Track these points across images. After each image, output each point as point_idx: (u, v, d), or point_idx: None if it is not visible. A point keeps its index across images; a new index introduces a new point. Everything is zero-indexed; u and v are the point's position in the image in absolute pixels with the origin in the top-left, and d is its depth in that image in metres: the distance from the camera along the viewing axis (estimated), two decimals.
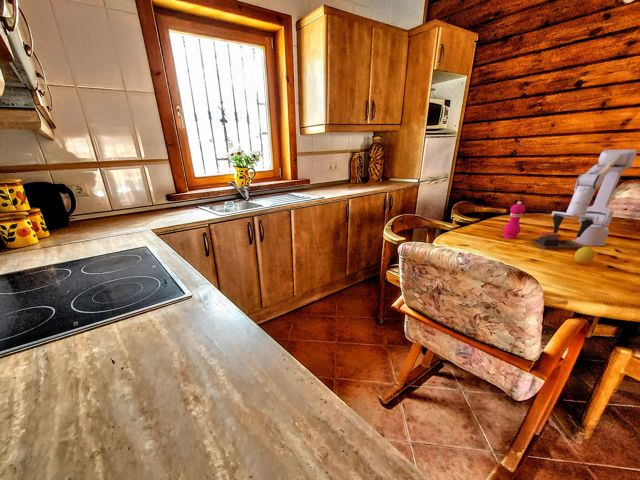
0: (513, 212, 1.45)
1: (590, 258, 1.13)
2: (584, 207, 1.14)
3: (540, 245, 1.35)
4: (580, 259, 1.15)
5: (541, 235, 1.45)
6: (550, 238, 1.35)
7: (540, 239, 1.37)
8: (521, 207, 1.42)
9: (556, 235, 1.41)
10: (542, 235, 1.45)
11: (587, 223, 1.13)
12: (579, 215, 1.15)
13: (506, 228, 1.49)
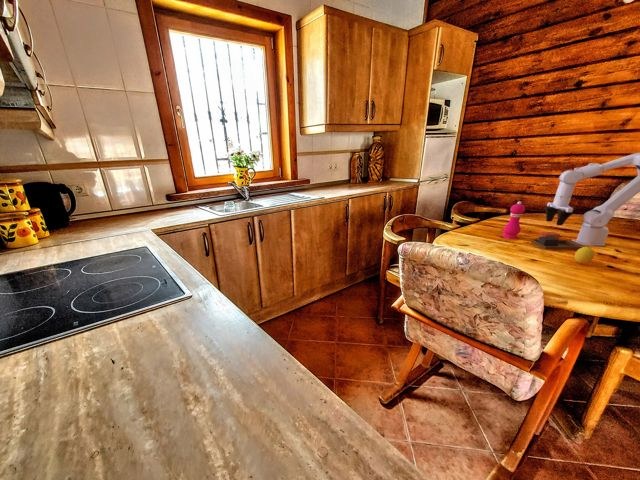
0: (513, 212, 1.45)
1: (590, 258, 1.13)
2: (561, 199, 1.34)
3: (540, 245, 1.35)
4: (580, 259, 1.15)
5: (541, 235, 1.45)
6: (550, 238, 1.35)
7: (540, 239, 1.37)
8: (521, 207, 1.42)
9: (556, 235, 1.41)
10: (542, 235, 1.45)
11: (560, 213, 1.34)
12: (557, 206, 1.36)
13: (506, 228, 1.49)
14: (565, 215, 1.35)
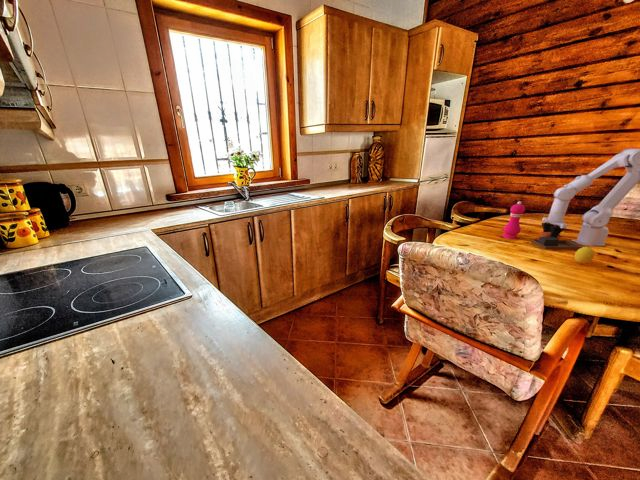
0: (513, 212, 1.45)
1: (590, 258, 1.13)
2: (556, 215, 1.37)
3: (540, 245, 1.35)
4: (580, 259, 1.15)
5: (541, 235, 1.45)
6: (550, 238, 1.35)
7: (540, 239, 1.37)
8: (521, 207, 1.42)
9: None
10: (542, 235, 1.44)
11: (552, 228, 1.38)
12: (552, 222, 1.39)
13: (506, 228, 1.49)
14: (558, 230, 1.39)
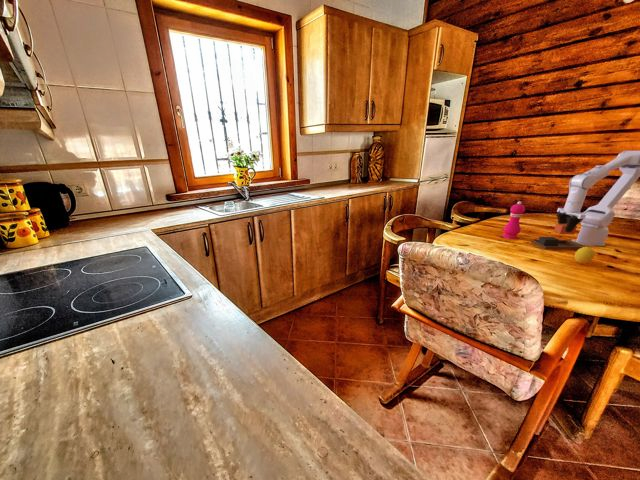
0: (513, 212, 1.45)
1: (590, 258, 1.13)
2: (573, 205, 1.27)
3: (540, 245, 1.35)
4: (580, 259, 1.15)
5: (556, 227, 1.35)
6: (550, 238, 1.35)
7: (540, 239, 1.37)
8: (521, 207, 1.42)
9: None
10: (557, 227, 1.34)
11: (569, 219, 1.28)
12: (568, 212, 1.29)
13: (506, 228, 1.49)
14: (575, 221, 1.29)
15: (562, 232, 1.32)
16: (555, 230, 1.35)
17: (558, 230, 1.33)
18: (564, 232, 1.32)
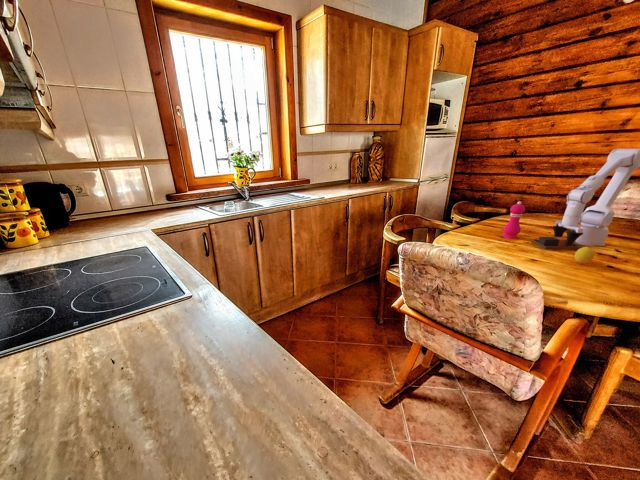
0: (513, 212, 1.45)
1: (590, 258, 1.13)
2: (571, 219, 1.28)
3: (540, 245, 1.35)
4: (580, 259, 1.15)
5: None
6: (550, 238, 1.35)
7: (540, 239, 1.37)
8: (521, 207, 1.42)
9: None
10: None
11: (569, 233, 1.28)
12: (566, 226, 1.30)
13: (506, 228, 1.49)
14: (575, 235, 1.29)
15: None
16: None
17: None
18: None
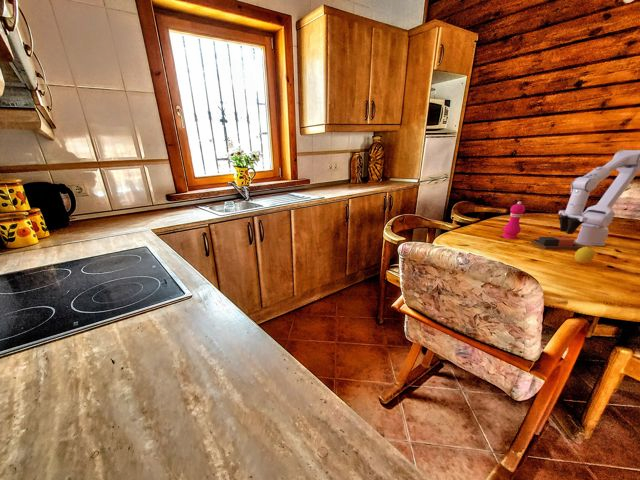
0: (513, 212, 1.45)
1: (590, 258, 1.13)
2: (575, 208, 1.26)
3: (540, 245, 1.35)
4: (580, 259, 1.15)
5: None
6: (550, 238, 1.35)
7: (540, 239, 1.37)
8: (521, 207, 1.42)
9: (570, 240, 1.32)
10: None
11: (570, 222, 1.27)
12: (570, 215, 1.28)
13: (506, 228, 1.49)
14: (576, 223, 1.28)
15: None
16: None
17: None
18: None
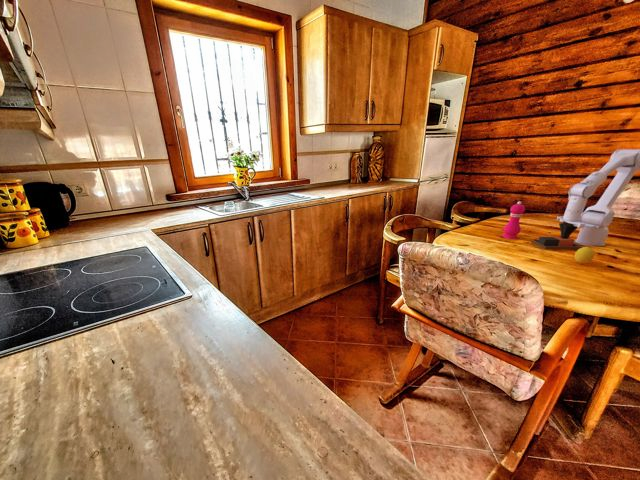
0: (513, 212, 1.45)
1: (590, 258, 1.13)
2: (573, 214, 1.27)
3: (540, 245, 1.35)
4: (580, 259, 1.15)
5: None
6: (550, 238, 1.35)
7: (540, 239, 1.37)
8: (521, 207, 1.42)
9: (570, 240, 1.32)
10: None
11: (565, 227, 1.30)
12: (568, 221, 1.29)
13: (506, 228, 1.49)
14: (571, 228, 1.31)
15: None
16: None
17: None
18: None
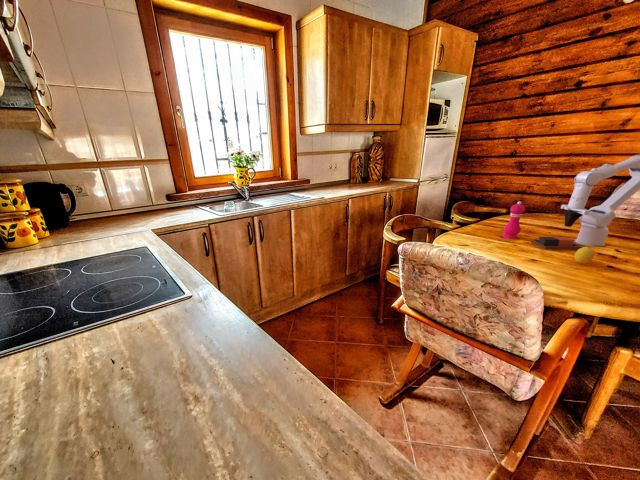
0: (513, 212, 1.45)
1: (590, 258, 1.13)
2: (577, 201, 1.28)
3: (540, 245, 1.35)
4: (580, 259, 1.15)
5: None
6: (550, 238, 1.35)
7: (540, 239, 1.37)
8: (521, 207, 1.42)
9: (570, 240, 1.32)
10: None
11: (569, 214, 1.31)
12: (572, 208, 1.30)
13: (506, 228, 1.49)
14: (575, 216, 1.32)
15: None
16: None
17: None
18: None
